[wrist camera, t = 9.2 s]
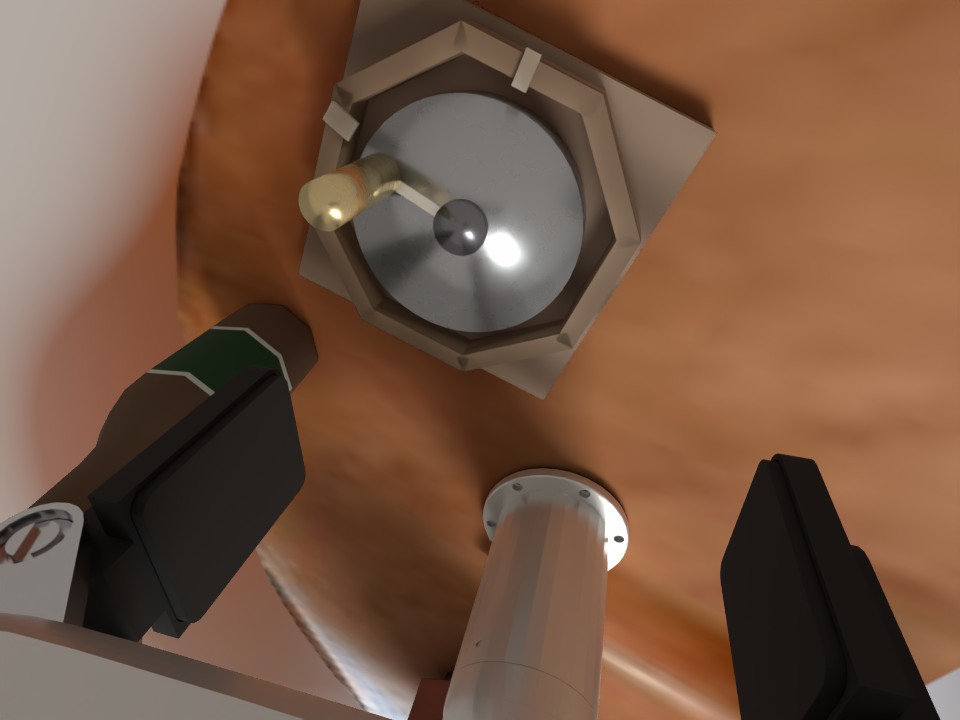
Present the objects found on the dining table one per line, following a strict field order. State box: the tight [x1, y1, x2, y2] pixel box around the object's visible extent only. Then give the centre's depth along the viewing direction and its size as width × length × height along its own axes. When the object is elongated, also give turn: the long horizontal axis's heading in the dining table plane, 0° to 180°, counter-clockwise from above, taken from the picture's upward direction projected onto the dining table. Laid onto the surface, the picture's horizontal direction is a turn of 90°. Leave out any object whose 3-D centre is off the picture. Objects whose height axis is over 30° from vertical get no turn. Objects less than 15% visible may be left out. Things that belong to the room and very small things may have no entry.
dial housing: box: [298, 0, 717, 400], centre depth 33 cm, size 20×20×4 cm
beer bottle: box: [28, 304, 318, 513], centre depth 34 cm, size 8×8×24 cm
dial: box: [298, 90, 586, 332], centre depth 29 cm, size 14×14×9 cm
